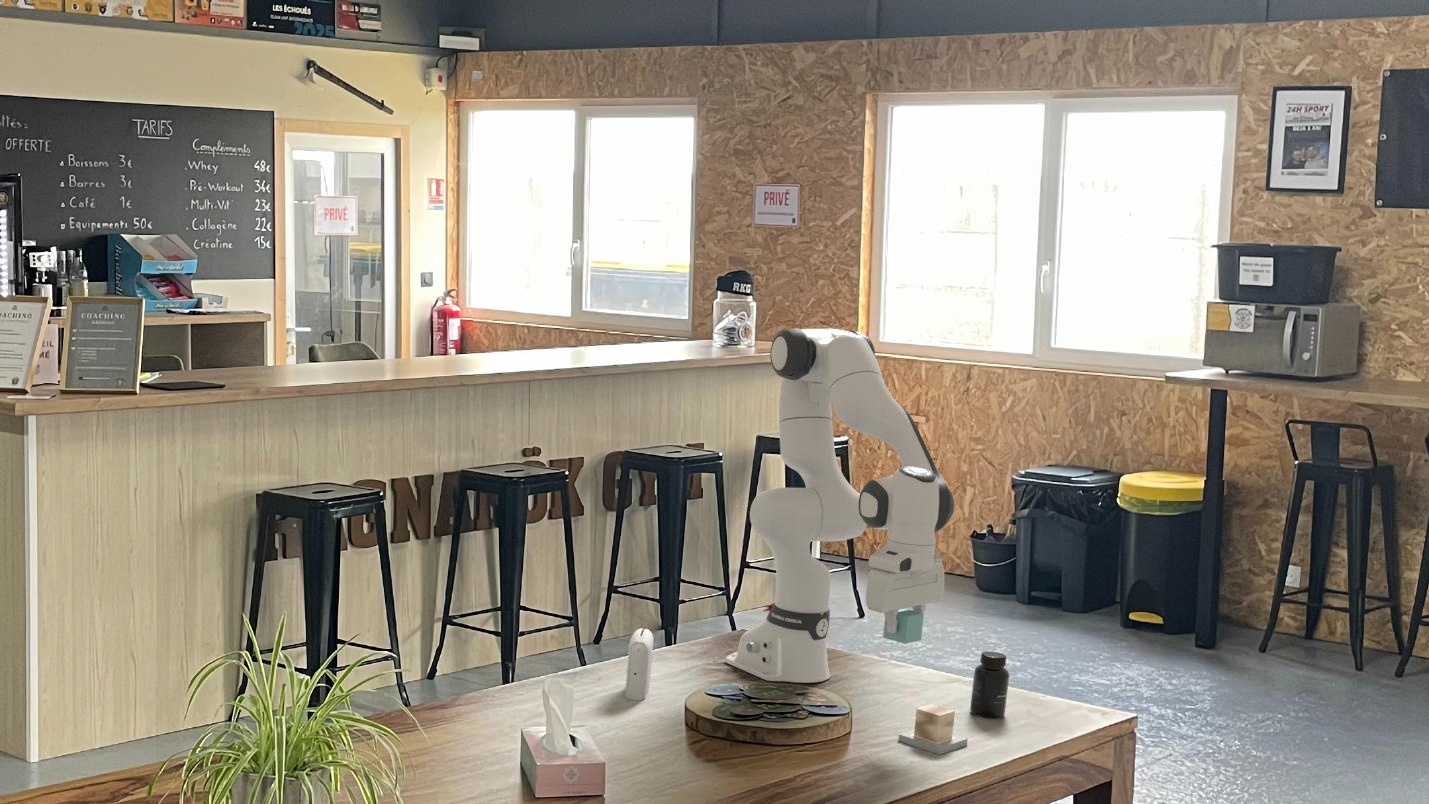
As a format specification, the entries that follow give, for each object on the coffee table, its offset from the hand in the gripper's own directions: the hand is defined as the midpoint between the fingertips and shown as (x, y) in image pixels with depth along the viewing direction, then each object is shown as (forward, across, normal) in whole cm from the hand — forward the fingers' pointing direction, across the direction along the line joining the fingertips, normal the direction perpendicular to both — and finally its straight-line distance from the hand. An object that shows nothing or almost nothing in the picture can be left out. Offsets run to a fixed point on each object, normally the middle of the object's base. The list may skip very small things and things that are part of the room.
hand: (902, 630), depth 291 cm
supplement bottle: (+20, -27, +3) cm, 34 cm away
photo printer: (+20, +23, -44) cm, 53 cm away
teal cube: (+2, 0, 0) cm, 2 cm away
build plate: (+20, -2, +8) cm, 21 cm away
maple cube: (+18, -2, +7) cm, 20 cm away
